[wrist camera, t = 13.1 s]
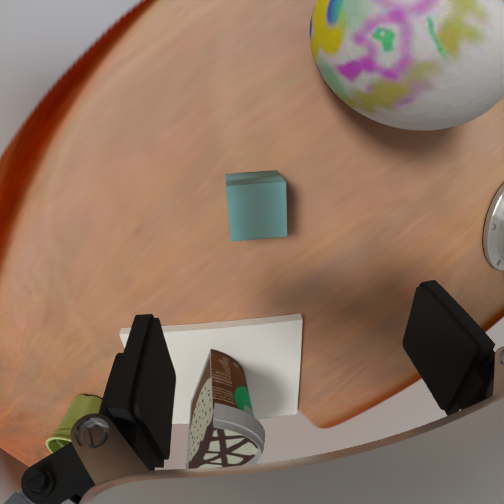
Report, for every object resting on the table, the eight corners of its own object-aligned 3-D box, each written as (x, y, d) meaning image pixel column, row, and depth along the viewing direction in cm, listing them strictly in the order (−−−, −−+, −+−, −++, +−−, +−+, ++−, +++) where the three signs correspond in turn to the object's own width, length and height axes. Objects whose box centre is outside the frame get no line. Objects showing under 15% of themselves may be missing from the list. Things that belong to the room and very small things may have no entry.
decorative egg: (313, -33, 17) (398, -128, 4) (436, 26, 19) (565, 11, 6) (277, 95, 22) (357, 81, 8) (409, 142, 24) (544, 192, 11)
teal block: (276, 170, 25) (285, 181, 21) (278, 217, 26) (287, 236, 23) (225, 174, 24) (226, 186, 21) (229, 221, 26) (231, 241, 23)
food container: (236, 416, 36) (242, 485, 27) (188, 408, 35) (185, 479, 26) (273, 349, 31) (290, 431, 22) (214, 337, 30) (215, 423, 21)
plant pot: (110, 432, 38) (101, 480, 31) (56, 402, 35) (39, 450, 27) (138, 410, 36) (130, 465, 28) (76, 374, 32) (55, 429, 25)
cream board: (300, 313, 31) (302, 319, 30) (295, 408, 38) (296, 413, 37) (121, 327, 30) (119, 333, 29) (159, 418, 37) (158, 423, 36)
